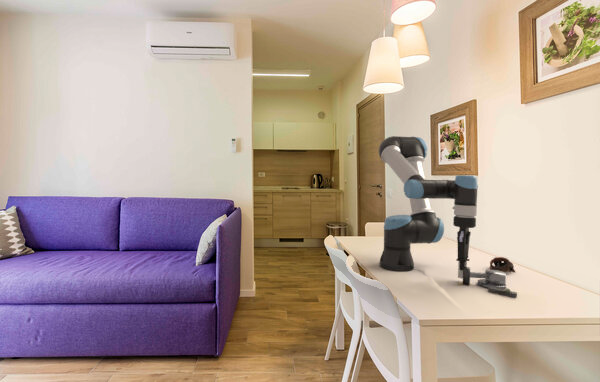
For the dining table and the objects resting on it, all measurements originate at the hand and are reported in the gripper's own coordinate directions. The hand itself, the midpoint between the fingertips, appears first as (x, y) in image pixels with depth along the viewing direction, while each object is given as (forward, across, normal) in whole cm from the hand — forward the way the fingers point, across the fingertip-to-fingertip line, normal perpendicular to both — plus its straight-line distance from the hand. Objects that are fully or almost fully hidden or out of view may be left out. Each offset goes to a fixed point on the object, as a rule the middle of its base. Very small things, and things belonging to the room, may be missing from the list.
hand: (462, 277), depth 122 cm
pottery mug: (+3, -27, +11) cm, 29 cm away
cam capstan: (+1, 0, +7) cm, 7 cm away
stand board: (+3, -2, +9) cm, 9 cm away
